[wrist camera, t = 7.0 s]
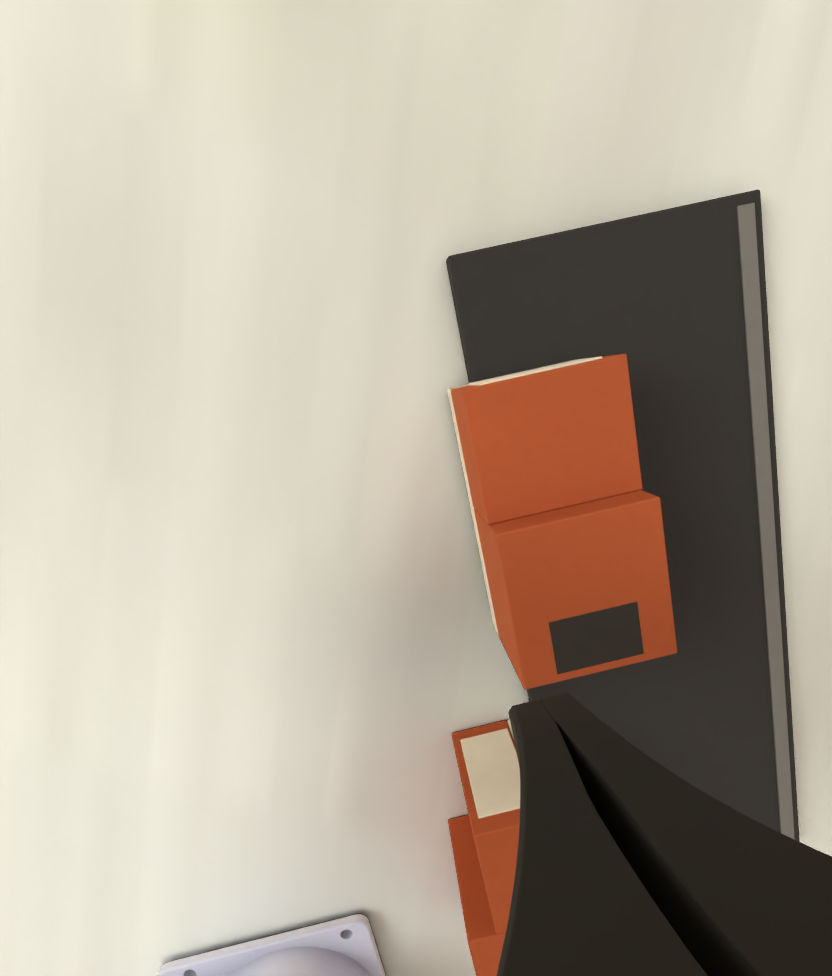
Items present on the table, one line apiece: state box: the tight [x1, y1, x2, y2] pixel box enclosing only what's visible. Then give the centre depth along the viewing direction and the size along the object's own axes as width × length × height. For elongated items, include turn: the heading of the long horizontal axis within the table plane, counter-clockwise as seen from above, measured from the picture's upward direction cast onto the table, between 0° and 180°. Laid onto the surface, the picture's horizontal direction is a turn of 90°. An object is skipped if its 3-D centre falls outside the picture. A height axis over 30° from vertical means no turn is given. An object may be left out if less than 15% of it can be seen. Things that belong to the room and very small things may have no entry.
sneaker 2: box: [448, 354, 677, 689], centre depth 17 cm, size 4×10×5 cm
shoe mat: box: [446, 190, 799, 842], centre depth 20 cm, size 11×28×1 cm, turn 12°
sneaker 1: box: [448, 719, 520, 976], centre depth 20 cm, size 4×10×5 cm, turn 12°
